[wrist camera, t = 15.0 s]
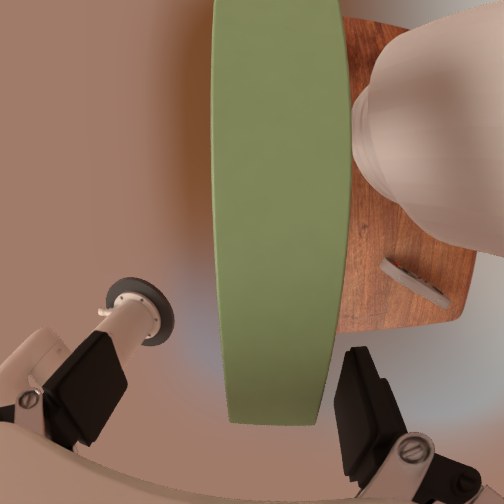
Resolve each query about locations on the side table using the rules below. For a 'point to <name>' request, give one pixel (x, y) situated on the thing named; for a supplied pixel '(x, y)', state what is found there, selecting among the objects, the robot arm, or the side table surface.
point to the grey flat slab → (414, 283)
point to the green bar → (279, 200)
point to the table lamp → (440, 127)
